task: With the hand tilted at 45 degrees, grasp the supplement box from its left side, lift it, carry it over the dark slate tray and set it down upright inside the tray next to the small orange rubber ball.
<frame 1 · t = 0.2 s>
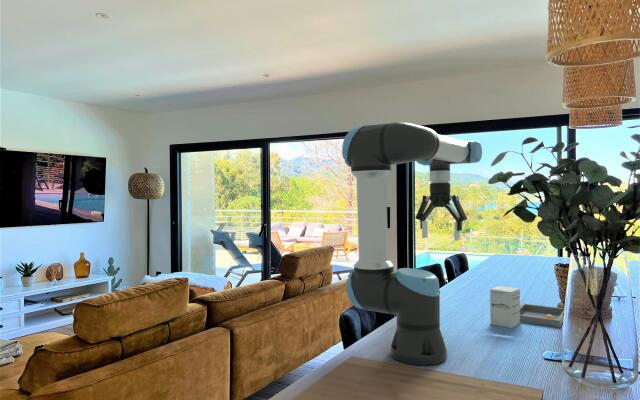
hand: (440, 238, 171), 28 cm above the table, tool pointing down, fingers open, 13 cm apart
ball: (549, 323, 150), point 1 cm above the table, touching tray
supplement box: (505, 326, 151), on the table
tray: (540, 319, 158), on the table
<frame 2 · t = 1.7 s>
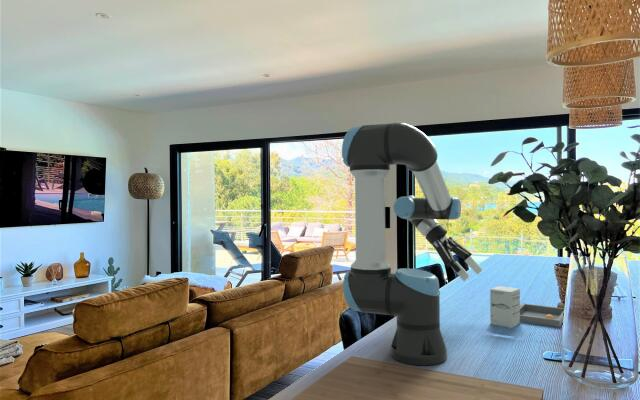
hand: (473, 275, 157), 16 cm above the table, tool tilted 45°, fingers open, 13 cm apart
nothing on the table moved.
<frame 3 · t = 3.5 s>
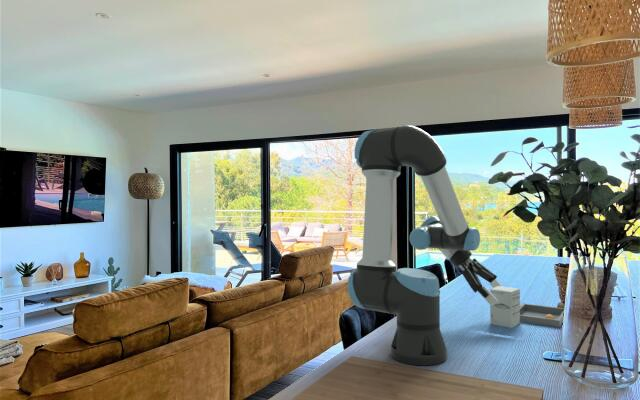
hand: (501, 299, 152), 9 cm above the table, tool tilted 45°, fingers open, 13 cm apart
nothing on the table moved.
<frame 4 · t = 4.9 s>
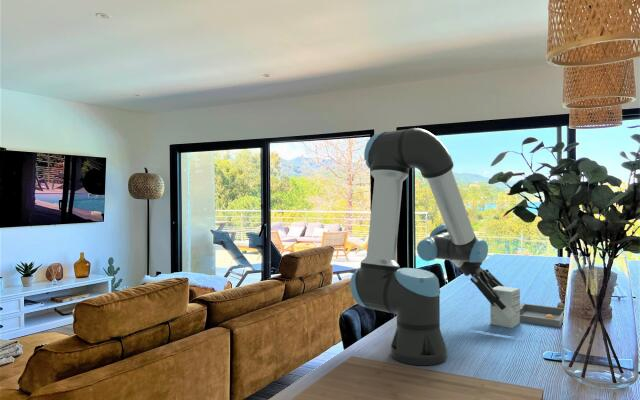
hand: (515, 313, 149), 5 cm above the table, tool tilted 45°, fingers closed on supplement box, 8 cm apart
supplement box: (505, 326, 151), on the table, touching gripper
everything else where it was.
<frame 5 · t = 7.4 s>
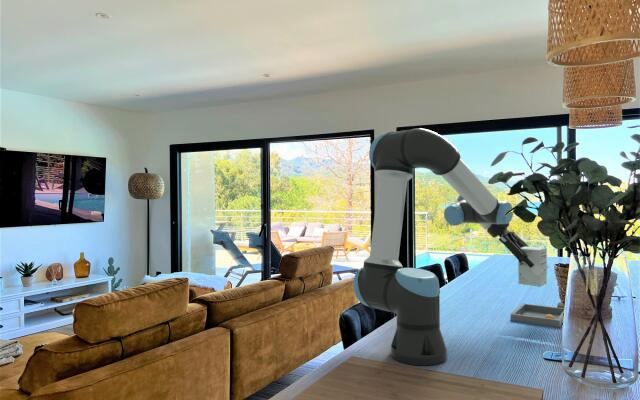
hand: (543, 271, 154), 17 cm above the table, tool tilted 45°, fingers closed on supplement box, 8 cm apart
supplement box: (532, 284, 157), point 13 cm above the table, touching gripper
everything else where it was.
when the fingers open (6 cm above the table, at t = 10.0 s): supplement box drops 1 cm, resting on tray.
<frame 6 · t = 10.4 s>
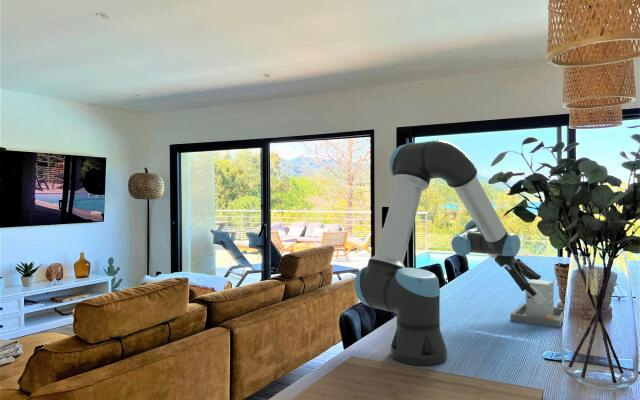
hand: (547, 298, 156), 8 cm above the table, tool tilted 45°, fingers open, 13 cm apart
supplement box: (539, 318, 158), point 1 cm above the table, touching tray
everything else where it was.
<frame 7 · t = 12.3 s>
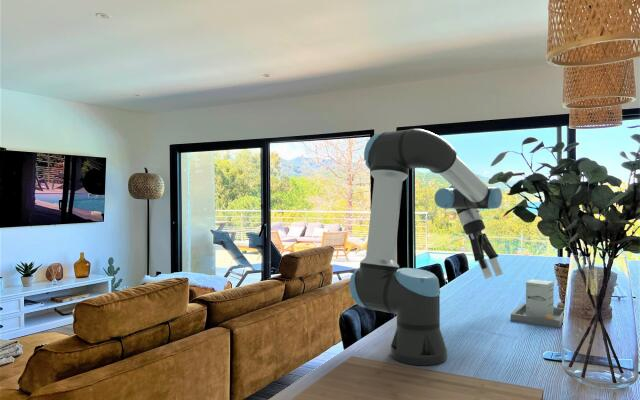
hand: (494, 276, 164), 14 cm above the table, tool tilted 25°, fingers open, 13 cm apart
nothing on the table moved.
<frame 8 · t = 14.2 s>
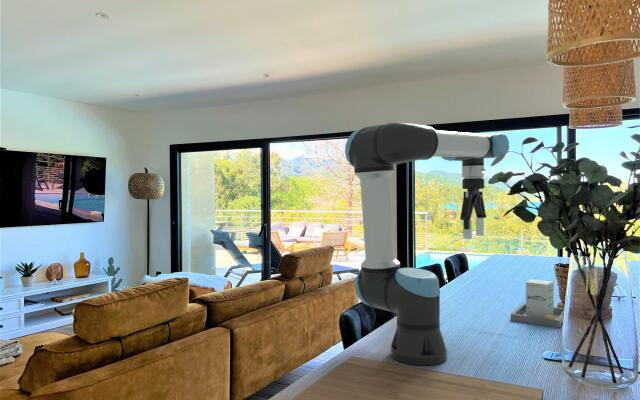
hand: (473, 237, 163), 29 cm above the table, tool pointing down, fingers open, 13 cm apart
nothing on the table moved.
at the end: supplement box inside the target area on the tray (0.2 cm from its centre), point 0.6 cm above the tray's base; supplement box tilted 0°; the gripper is holding nothing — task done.
